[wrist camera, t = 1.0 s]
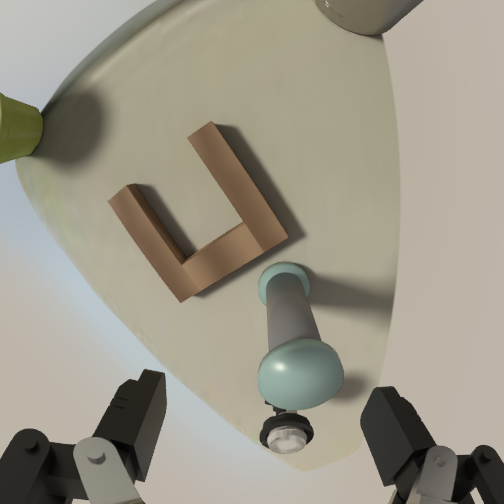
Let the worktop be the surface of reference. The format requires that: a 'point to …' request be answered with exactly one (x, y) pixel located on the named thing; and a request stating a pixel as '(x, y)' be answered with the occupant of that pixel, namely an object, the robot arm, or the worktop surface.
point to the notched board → (221, 249)
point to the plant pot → (18, 129)
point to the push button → (286, 431)
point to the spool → (294, 344)
